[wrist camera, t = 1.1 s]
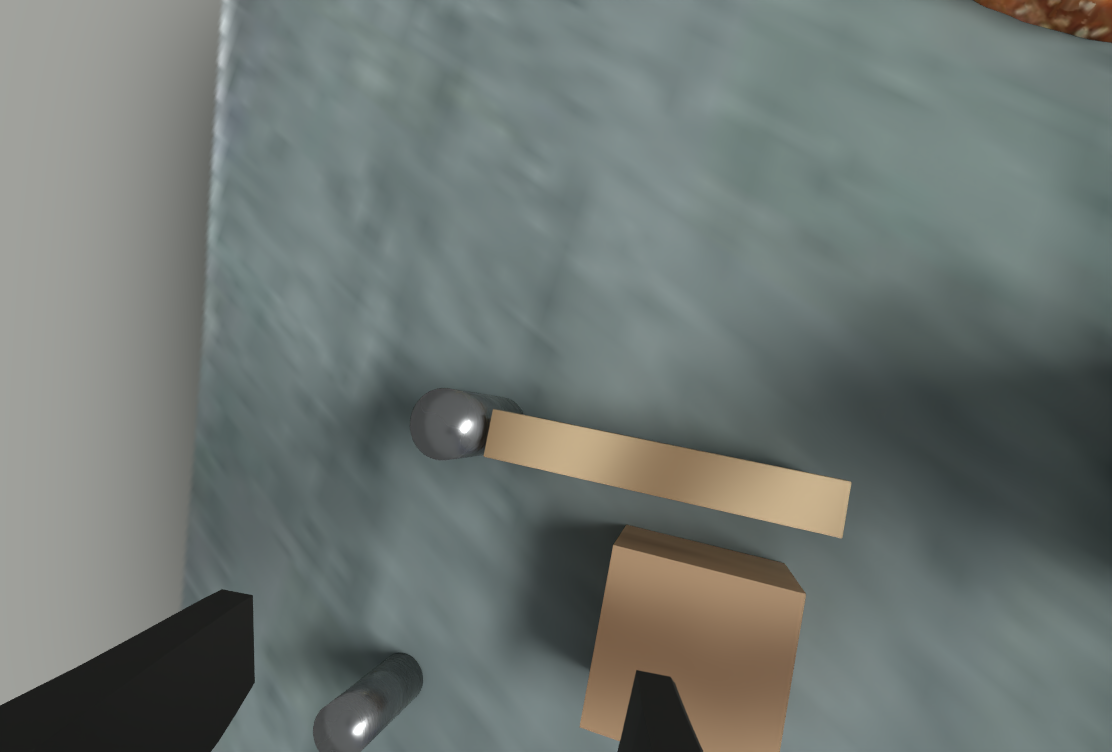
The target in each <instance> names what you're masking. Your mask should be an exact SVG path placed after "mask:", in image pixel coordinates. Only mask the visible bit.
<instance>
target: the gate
mask: <svg viewBox="0 0 1112 752" xmlns="http://www.w3.org/2000/svg"><path fill="white" fill-rule="evenodd" d="M484 457H488V458H492V459H497V460H501V461H506V462H510V463H514V464H519V465H523V466H527V467H532V468H536V469H541V470H545V471H549V472H554V473H558V474H562V475H567V476H571V477H576V478H580V479H584V480H589V481H593V482H597V483H602V484H606V485H611V486H615V487H619V488H624V489H628V490H632V491H637V492H641V493H646V494H650V495H654V496H659V497H663V498H667V499H672V500H676V501H681V502H685V503H689V504H694V505H698V506H702V507H707V508H711V509H716V510H720V511H724V512H729V513H733V514H737V515H742V516H746V517H751V518H755V519H759V520H764V521H768V522H772V523H777V524H781V525H786V526H790V527H794V528H799V529H803V530H807V531H812V532H816V533H821V534H825V535H829V536H834V537H838V538H842V536H843V530H844V524H845V518H846V512H847V506H848V500H849V494H850V488H851V482H849V481H846V480H842V479H837V478H832V477H827V476H822V475H817V474H812V473H807V472H803V471H798V470H793V469H788V468H783V467H778V466H773V465H768V464H763V463H758V462H753V461H748V460H744V459H739V458H734V457H729V456H724V455H719V454H714V453H709V452H704V451H699V450H694V449H689V448H684V447H680V446H675V445H670V444H665V443H660V442H655V441H650V440H645V439H640V438H635V437H630V436H625V435H621V434H616V433H611V432H606V431H601V430H596V429H591V428H586V427H581V426H576V425H571V424H566V423H562V422H557V421H552V420H547V419H542V418H537V417H532V416H527V415H522V414H517V413H512V412H507V411H503V410H496V409H493V412H492V417H491V422H490V427H489V432H488V437H487V442H486V447H485V452H484Z"/></svg>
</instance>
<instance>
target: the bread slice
mask: <svg viewBox="0 0 1112 752" xmlns="http://www.w3.org/2000/svg"><path fill="white" fill-rule="evenodd" d="M974 1H975V2H977V3H979V4H980V5H982V6H985V7H987V8H990V9H993V10H996V11H999V12H1002V13H1004V14H1007V15H1009V16H1011V17H1014V18H1016V19H1018V20H1020V21H1023V22H1026V23H1030V24H1033V25H1037V26H1041V27H1044V28H1048V29H1052V30H1056V31H1060V32H1064V33H1068V34H1071V35H1075V36H1078V37H1081V38H1086V39H1091V40H1097V41H1104V42H1111V43H1112V0H974Z"/></svg>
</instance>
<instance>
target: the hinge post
mask: <svg viewBox="0 0 1112 752" xmlns="http://www.w3.org/2000/svg"><path fill="white" fill-rule="evenodd" d="M493 409H496V410H503V411H507V412H512V413H517V414H522V415H523V412H522V410H521V409H520V407H519V406H518V405H517V404H516V403H515V402H514V401H512V400H510V399H508V398H504V397H498V396H492V395H486V394H479V393H473V392H467V391H461V390H455V389H449V388H439V389H435V390H432V391H430V392H428V393H426V394H425V395H424V396H422V397H421V398H420V399H419V401H418V402H417V403H416V405H415V407H414V409H413V411H412V414H411V419H410V432H411V436H412V439H413V441H414V443H415V445H416V446H417V448H418V449H419V450H420V451H421V452H422V453H423V454H424V455H426V456H428V457H430V458H432V459H435V460H450V459H457V458H465V457H472V456H480V455H484V452H485V447H486V442H487V437H488V432H489V427H490V422H491V417H492V412H493Z"/></svg>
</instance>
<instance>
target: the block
mask: <svg viewBox="0 0 1112 752" xmlns="http://www.w3.org/2000/svg"><path fill="white" fill-rule="evenodd" d="M805 597H806V593H805V592H804V591H803V589H802V588H801V586H800V585H799V583H798V582H797V581H796V579H795V578H794V576H793V575H792V573H791V572H790V571H789V569H788V568H787V566H786V565H785V563H781V562H777V561H773V560H769V559H765V558H761V557H757V556H753V555H748V554H744V553H740V552H736V551H732V550H728V549H724V548H720V547H716V546H712V545H708V544H703V543H699V542H695V541H691V540H687V539H683V538H679V537H675V536H671V535H667V534H663V533H658V532H654V531H650V530H646V529H642V528H638V527H634V526H630V525H626V526H625V528H624V529H623V531H622V532H621V534H620V535H619V537H618V538H617V540H616V542H615V543H614V545H613V549H612V555H611V560H610V566H609V571H608V577H607V582H606V587H605V593H604V598H603V604H602V609H601V614H600V620H599V625H598V631H597V636H596V641H595V647H594V652H593V658H592V663H591V668H590V674H589V679H588V685H587V690H586V696H585V701H584V706H583V712H582V717H581V723H580V727H581V728H583V729H586V730H589V731H592V732H595V733H598V734H601V735H604V736H606V737H609V738H612V739H615V740H618V741H620V739H621V735H622V731H623V726H624V722H625V717H626V713H627V709H628V704H629V700H630V695H631V691H632V687H633V682H634V678H635V674H636V670H639V671H644V672H650V673H655V674H660V675H665V676H670V677H671V678H672V679H673V681H674V682H675V684H676V687H677V690H678V692H679V695H680V697H681V700H682V702H683V705H684V707H685V710H686V712H687V715H688V717H689V720H690V722H691V724H692V727H693V729H694V731H695V734H696V736H697V738H698V740H699V743H700V745H701V747H702V750H703V752H780V747H781V741H782V735H783V729H784V723H785V717H786V711H787V705H788V699H789V693H790V687H791V681H792V675H793V669H794V663H795V657H796V651H797V645H798V639H799V633H800V627H801V621H802V615H803V609H804V603H805Z"/></svg>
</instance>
